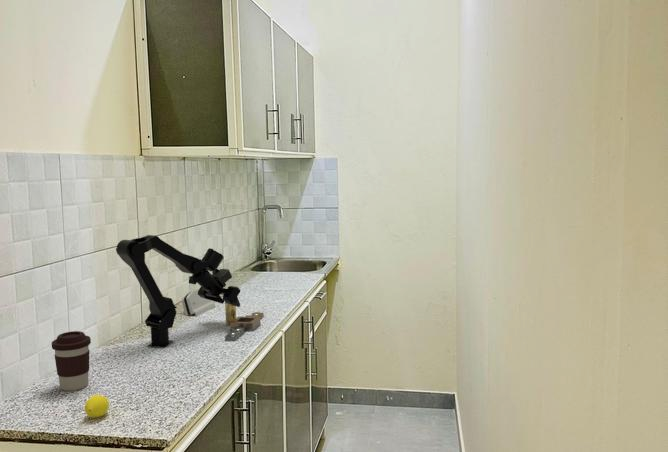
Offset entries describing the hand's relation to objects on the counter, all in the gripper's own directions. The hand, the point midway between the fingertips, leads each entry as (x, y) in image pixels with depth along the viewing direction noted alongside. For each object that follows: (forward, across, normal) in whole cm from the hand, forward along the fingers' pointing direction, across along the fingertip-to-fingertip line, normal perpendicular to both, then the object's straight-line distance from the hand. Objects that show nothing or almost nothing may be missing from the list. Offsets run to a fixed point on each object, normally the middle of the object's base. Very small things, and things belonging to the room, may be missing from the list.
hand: (231, 304), depth 228 cm
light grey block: (+9, +27, +2) cm, 28 cm away
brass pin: (+5, 0, +6) cm, 8 cm away
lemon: (-48, -37, +59) cm, 85 cm away
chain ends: (+5, -8, +6) cm, 11 cm away
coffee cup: (-44, -13, +54) cm, 71 cm away
